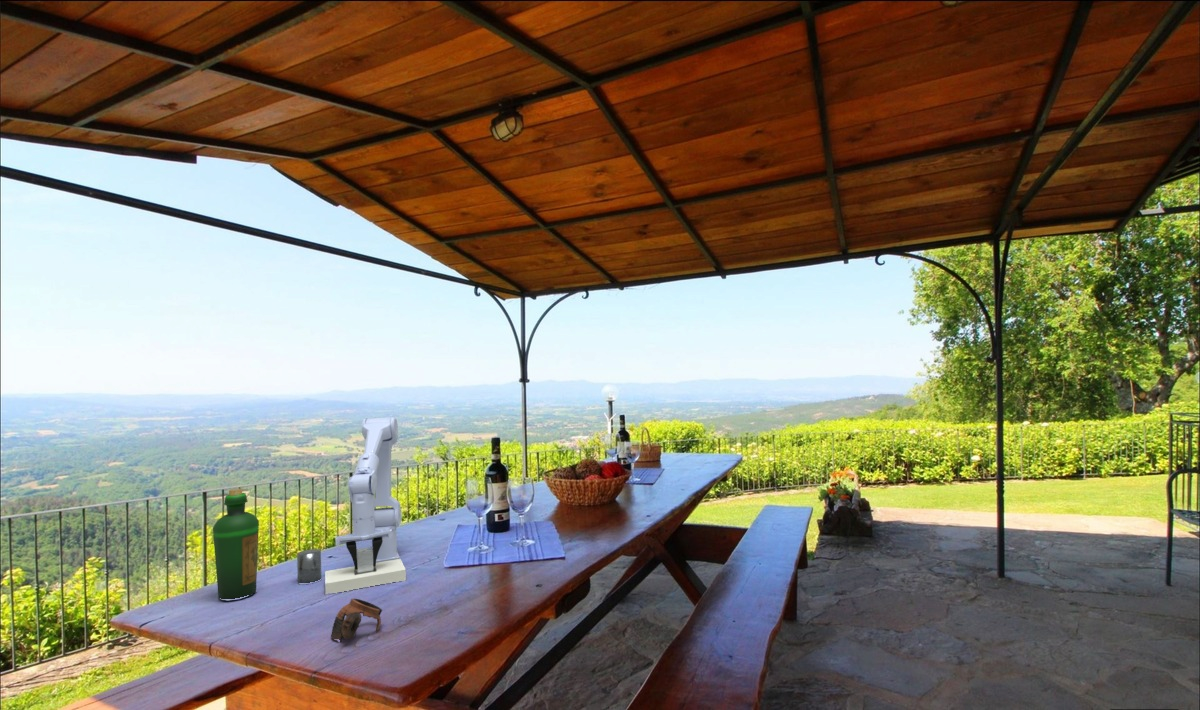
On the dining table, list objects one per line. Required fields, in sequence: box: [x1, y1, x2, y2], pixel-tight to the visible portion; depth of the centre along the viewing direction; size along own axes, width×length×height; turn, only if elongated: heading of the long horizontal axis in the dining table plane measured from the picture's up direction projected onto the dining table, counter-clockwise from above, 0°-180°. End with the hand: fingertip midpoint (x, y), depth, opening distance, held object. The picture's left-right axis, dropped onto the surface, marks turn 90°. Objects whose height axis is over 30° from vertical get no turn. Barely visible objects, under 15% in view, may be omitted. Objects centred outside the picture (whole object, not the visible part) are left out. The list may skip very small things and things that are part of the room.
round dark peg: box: [296, 548, 322, 584], centre depth 164 cm, size 6×6×8 cm
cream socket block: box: [324, 558, 407, 595], centre depth 161 cm, size 12×20×3 cm, turn 115°
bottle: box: [212, 487, 260, 599], centre depth 154 cm, size 11×11×28 cm
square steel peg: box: [357, 546, 374, 575], centre depth 161 cm, size 4×4×8 cm
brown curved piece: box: [330, 598, 383, 641], centre depth 125 cm, size 12×10×8 cm
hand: (365, 567), depth 161 cm, fingers closed on square steel peg, 4 cm apart
